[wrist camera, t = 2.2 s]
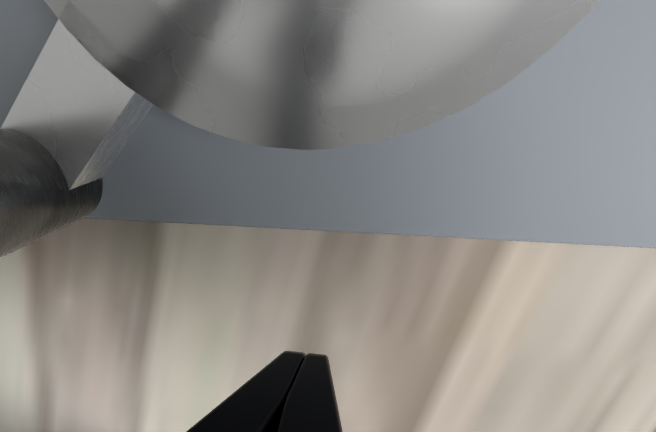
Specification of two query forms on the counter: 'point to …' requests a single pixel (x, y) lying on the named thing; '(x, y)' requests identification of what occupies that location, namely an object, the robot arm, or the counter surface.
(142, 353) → the counter surface
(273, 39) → the silver round handled piece
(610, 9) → the slate board
